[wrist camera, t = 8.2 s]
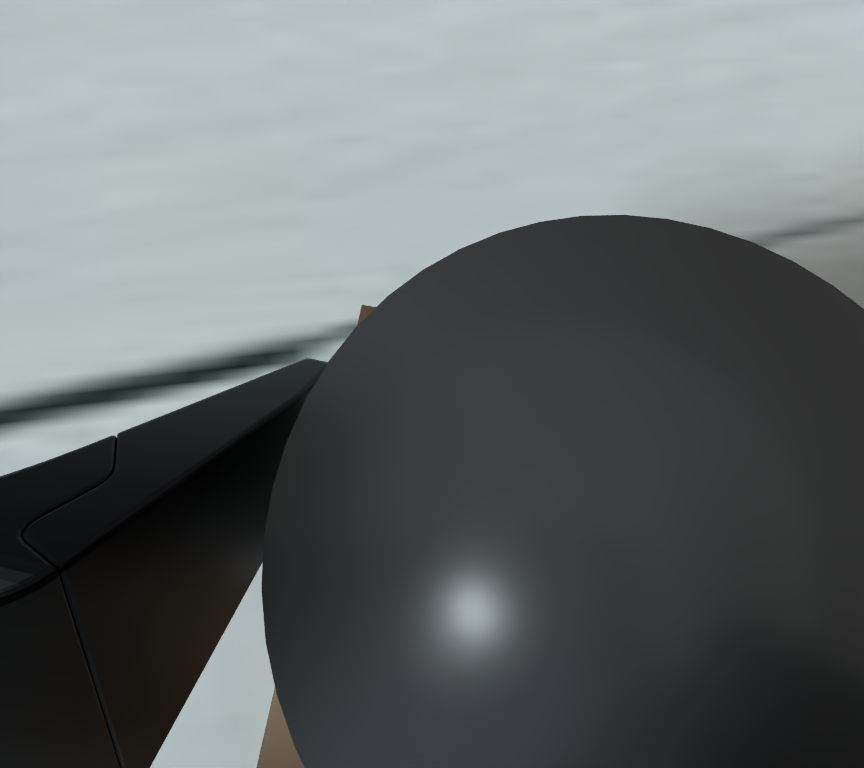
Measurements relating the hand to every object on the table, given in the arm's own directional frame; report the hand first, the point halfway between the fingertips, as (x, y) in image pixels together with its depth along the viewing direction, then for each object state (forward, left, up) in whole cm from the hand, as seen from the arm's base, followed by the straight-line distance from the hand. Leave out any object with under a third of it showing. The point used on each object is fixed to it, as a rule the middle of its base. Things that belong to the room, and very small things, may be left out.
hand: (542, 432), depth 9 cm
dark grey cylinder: (-2, 0, -8) cm, 8 cm away
